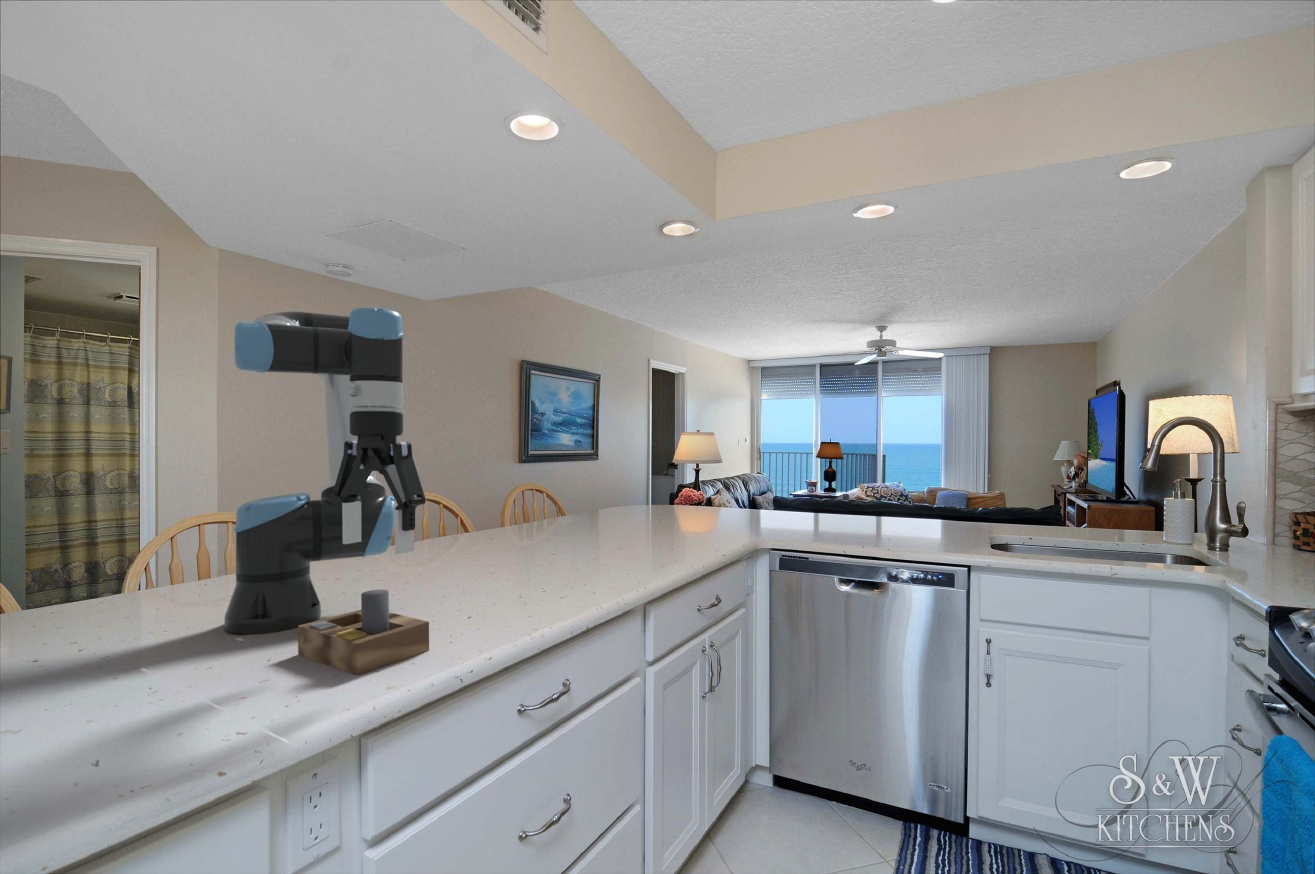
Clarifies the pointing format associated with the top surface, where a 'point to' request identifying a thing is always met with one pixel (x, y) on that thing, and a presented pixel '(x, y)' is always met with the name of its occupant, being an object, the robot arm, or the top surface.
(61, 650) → the top surface
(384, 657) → the socket board
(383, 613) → the plug
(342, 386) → the robot arm
